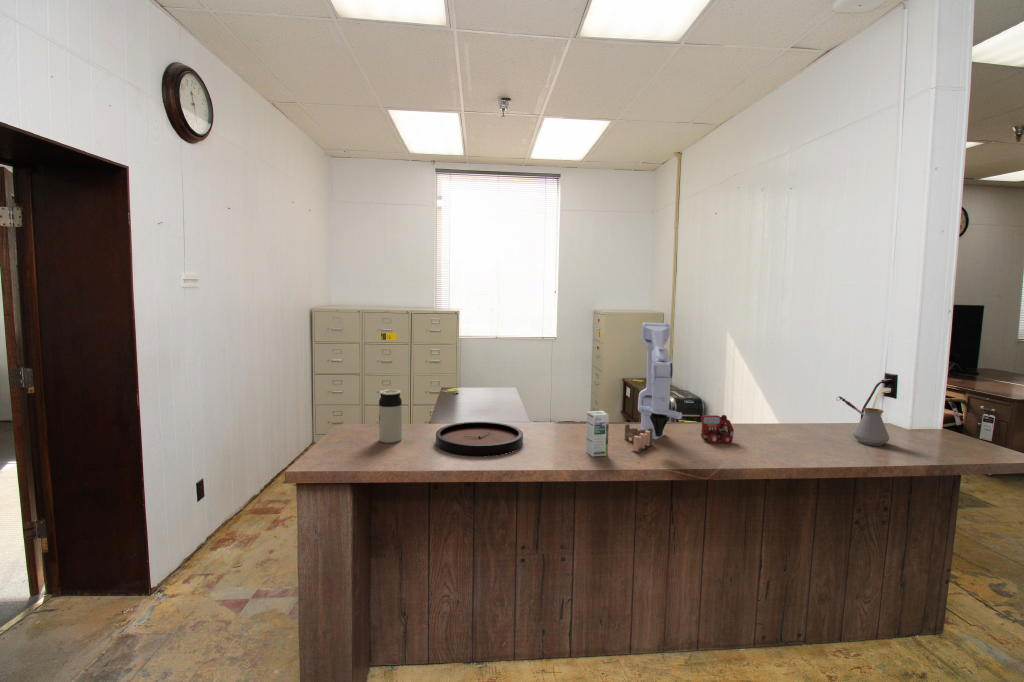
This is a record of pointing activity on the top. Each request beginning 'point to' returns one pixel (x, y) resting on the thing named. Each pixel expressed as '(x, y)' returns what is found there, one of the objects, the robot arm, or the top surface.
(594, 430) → the syrup box
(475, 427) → the wall clock
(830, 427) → the top surface
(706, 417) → the toy fire truck
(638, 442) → the folding fence panel
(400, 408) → the travel mug
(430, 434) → the top surface
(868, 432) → the coffee pot
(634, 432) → the fixed fence section
